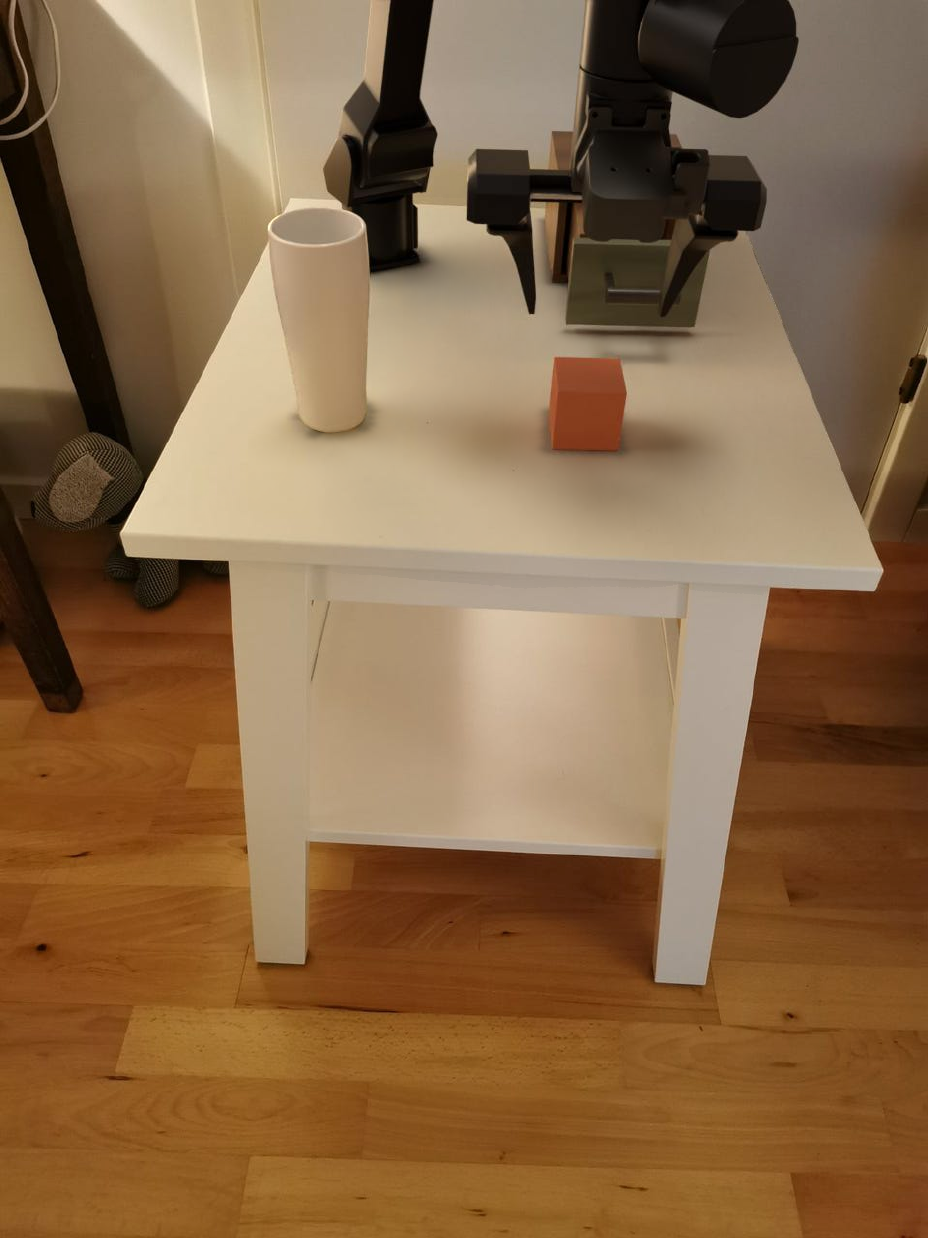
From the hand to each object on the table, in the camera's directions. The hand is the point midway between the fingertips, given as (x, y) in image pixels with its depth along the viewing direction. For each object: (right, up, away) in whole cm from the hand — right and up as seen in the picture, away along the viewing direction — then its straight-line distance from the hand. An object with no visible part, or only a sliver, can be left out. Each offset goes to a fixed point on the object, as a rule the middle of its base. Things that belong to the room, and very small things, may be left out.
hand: (596, 313), depth 68 cm
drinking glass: (-20, -6, +8) cm, 22 cm away
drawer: (+5, +8, +21) cm, 23 cm away
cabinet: (+6, +16, +30) cm, 35 cm away
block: (0, -7, +7) cm, 10 cm away
